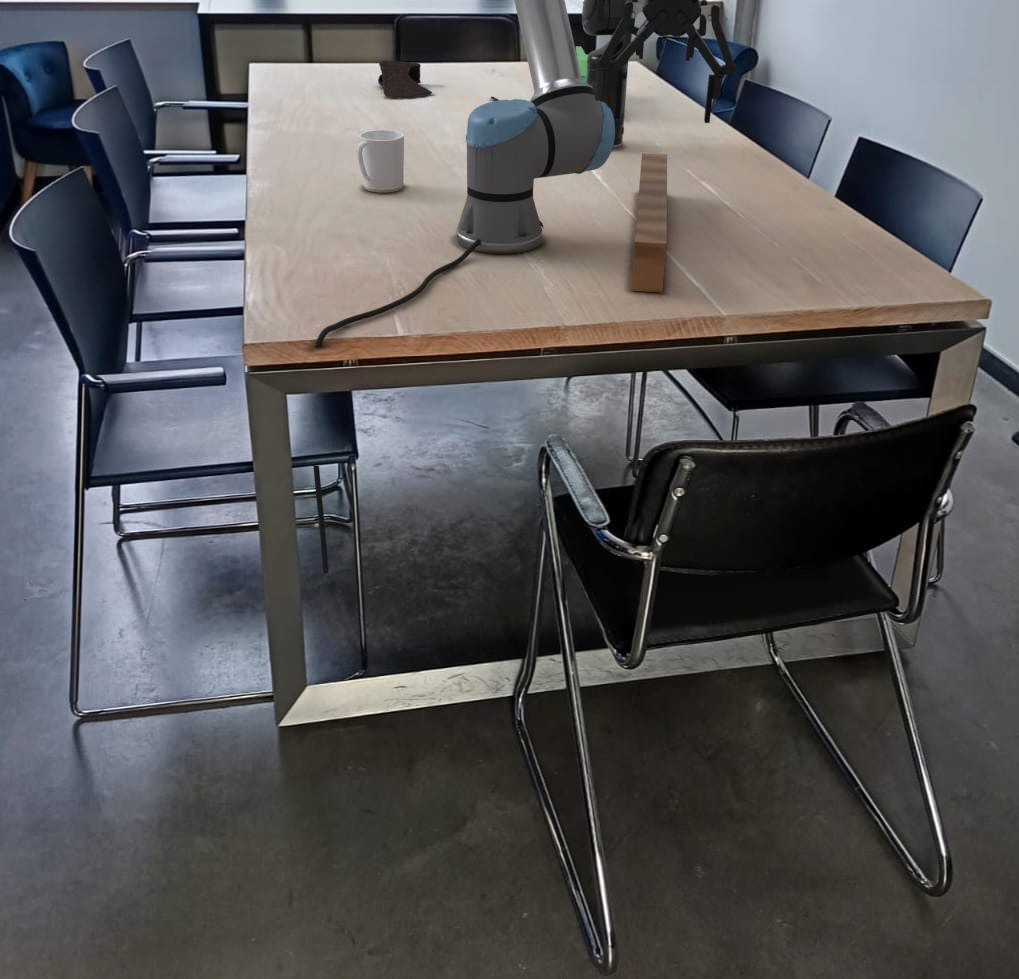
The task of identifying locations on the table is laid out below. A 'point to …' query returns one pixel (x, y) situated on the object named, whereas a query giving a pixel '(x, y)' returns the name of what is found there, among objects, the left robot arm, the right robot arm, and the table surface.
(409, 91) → the dark brown boot
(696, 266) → the table surface
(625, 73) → the right robot arm
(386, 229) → the table surface
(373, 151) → the mug
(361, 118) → the table surface
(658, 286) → the brown wooden bar
